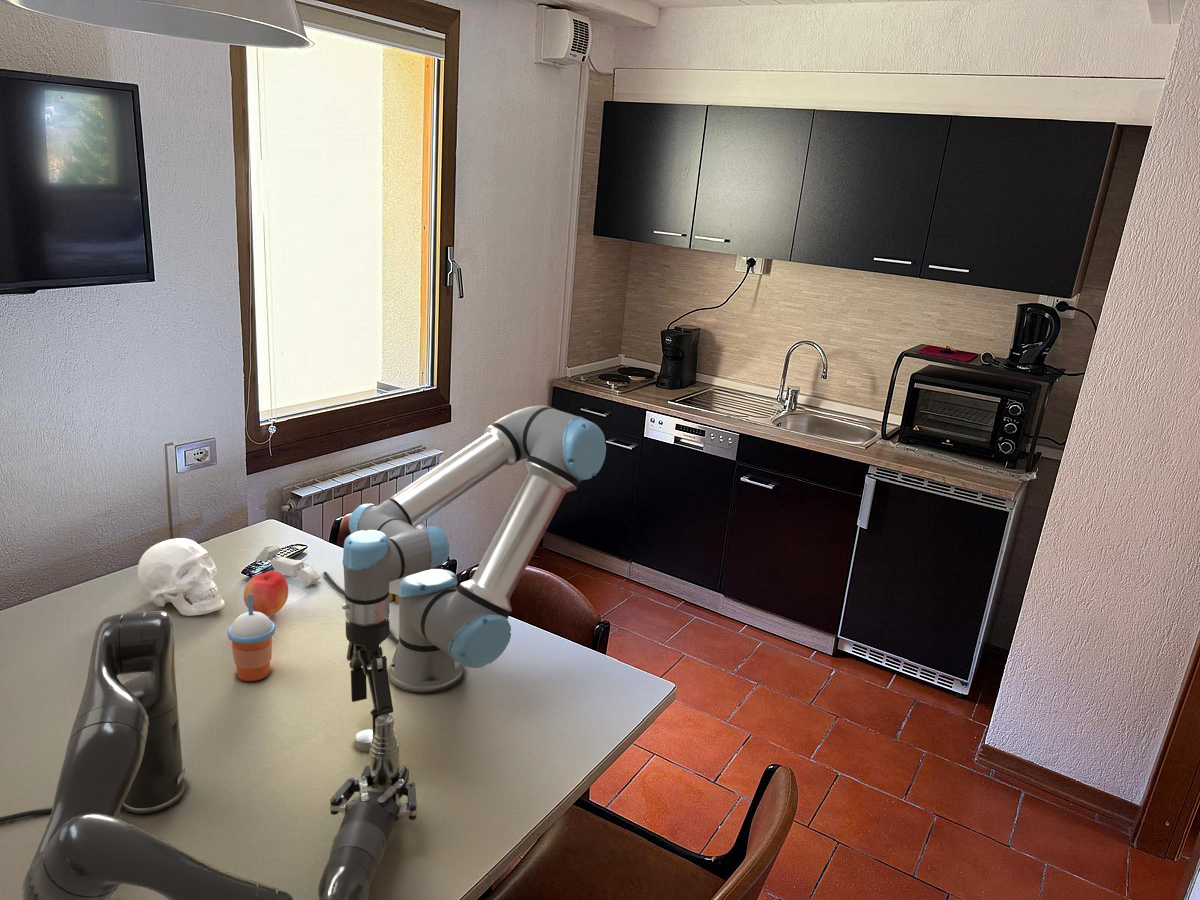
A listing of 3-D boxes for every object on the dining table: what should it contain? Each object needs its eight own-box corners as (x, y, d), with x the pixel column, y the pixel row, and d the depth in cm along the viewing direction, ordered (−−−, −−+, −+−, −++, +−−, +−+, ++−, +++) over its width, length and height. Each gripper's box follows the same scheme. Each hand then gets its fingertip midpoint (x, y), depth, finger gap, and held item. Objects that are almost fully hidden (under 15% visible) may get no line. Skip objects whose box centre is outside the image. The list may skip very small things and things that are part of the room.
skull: (204, 625, 194) (201, 560, 189) (125, 605, 199) (121, 542, 195) (243, 602, 206) (242, 541, 202) (168, 584, 212) (165, 524, 207)
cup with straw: (261, 689, 172) (257, 609, 167) (220, 681, 174) (215, 601, 168) (285, 666, 181) (283, 589, 175) (246, 658, 182) (243, 582, 177)
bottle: (401, 802, 145) (402, 712, 140) (394, 822, 140) (395, 729, 135) (374, 800, 145) (374, 709, 140) (366, 819, 140) (365, 726, 135)
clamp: (253, 565, 223) (254, 542, 221) (265, 560, 226) (266, 537, 224) (309, 593, 215) (310, 569, 213) (320, 588, 218) (321, 564, 216)
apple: (273, 600, 207) (272, 562, 204) (297, 613, 202) (296, 575, 199) (237, 614, 200) (234, 575, 197) (261, 628, 194) (259, 588, 191)
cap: (350, 747, 158) (350, 738, 157) (365, 735, 161) (365, 727, 161) (368, 754, 156) (368, 745, 155) (382, 742, 160) (382, 733, 159)
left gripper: (313, 860, 128) (346, 784, 144) (408, 866, 128) (430, 790, 145) (311, 819, 126) (345, 746, 142) (409, 825, 126) (431, 752, 142)
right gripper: (327, 590, 159) (331, 688, 165) (366, 656, 139) (369, 765, 145) (367, 582, 163) (369, 679, 169) (411, 645, 143) (412, 752, 149)
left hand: (388, 768), depth 143 cm, fingers closed on bottle, 4 cm apart
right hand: (369, 719), depth 157 cm, fingers open, 13 cm apart
